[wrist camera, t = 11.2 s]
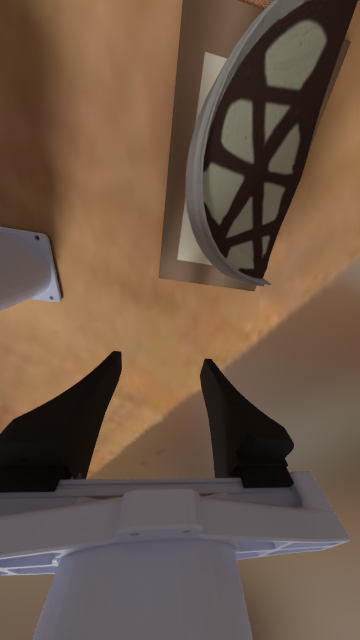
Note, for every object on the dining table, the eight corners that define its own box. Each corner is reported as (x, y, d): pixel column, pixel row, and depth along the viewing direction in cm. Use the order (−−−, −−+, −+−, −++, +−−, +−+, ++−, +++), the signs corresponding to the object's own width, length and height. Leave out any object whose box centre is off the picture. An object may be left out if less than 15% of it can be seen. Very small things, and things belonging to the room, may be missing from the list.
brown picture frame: (159, 276, 20) (158, 278, 20) (184, -7, 11) (184, -20, 10) (252, 290, 22) (254, 291, 21) (343, 50, 12) (350, 41, 12)
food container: (186, 109, 13) (217, -157, 4) (255, 122, 14) (410, -89, 5) (174, 263, 19) (177, 285, 10) (223, 267, 19) (267, 292, 11)
